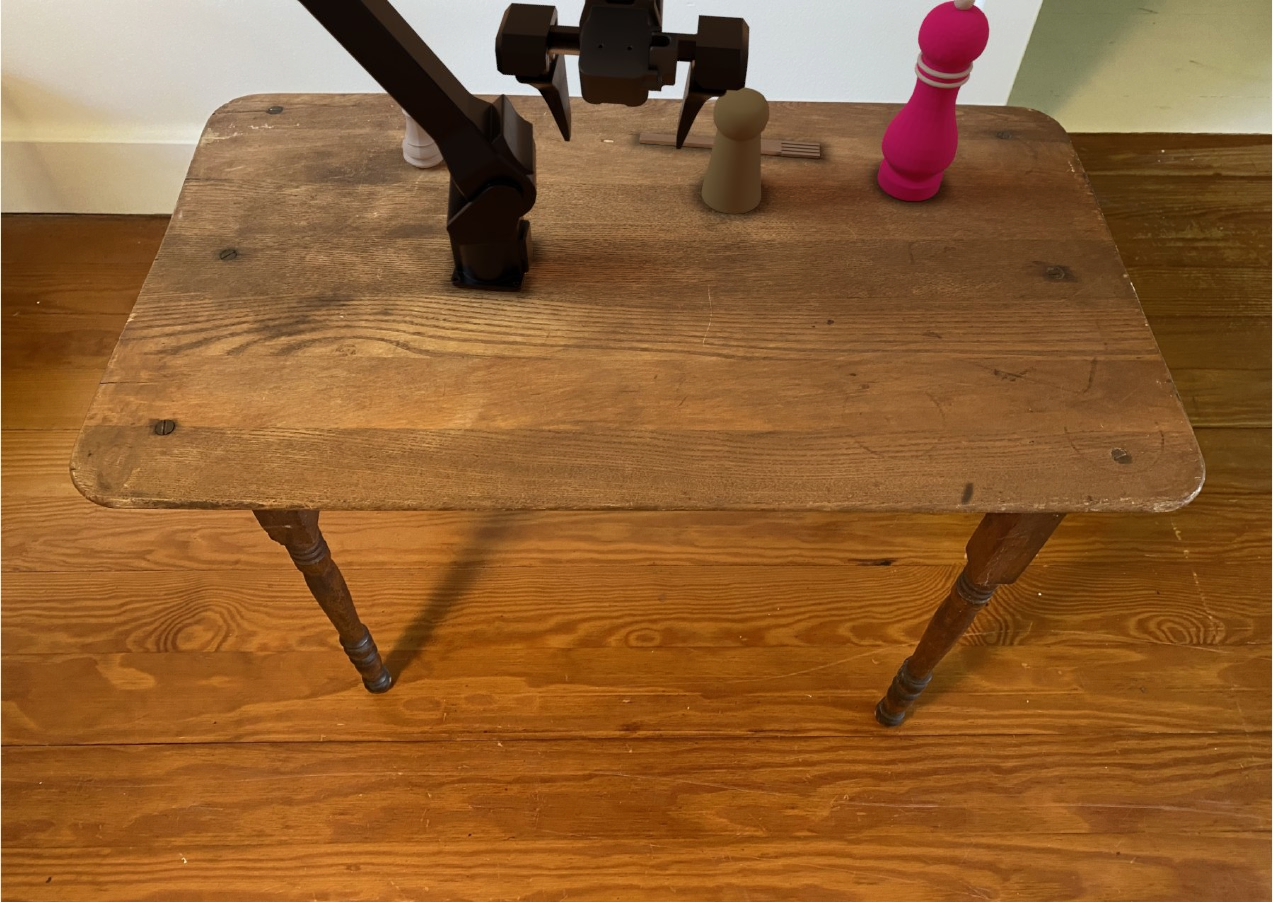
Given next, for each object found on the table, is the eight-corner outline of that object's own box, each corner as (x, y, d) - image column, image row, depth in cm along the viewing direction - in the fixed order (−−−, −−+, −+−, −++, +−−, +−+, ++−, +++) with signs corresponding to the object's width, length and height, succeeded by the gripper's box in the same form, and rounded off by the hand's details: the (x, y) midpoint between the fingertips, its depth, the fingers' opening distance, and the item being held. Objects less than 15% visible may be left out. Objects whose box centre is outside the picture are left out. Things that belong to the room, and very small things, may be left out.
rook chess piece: (444, 170, 94) (431, 100, 87) (400, 169, 94) (384, 99, 87) (450, 144, 96) (438, 73, 90) (407, 143, 96) (392, 72, 90)
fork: (639, 146, 97) (639, 142, 97) (641, 133, 98) (641, 129, 98) (819, 159, 96) (820, 155, 96) (818, 146, 98) (819, 142, 97)
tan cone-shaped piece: (757, 218, 91) (772, 120, 82) (696, 209, 91) (705, 111, 82) (764, 180, 94) (780, 82, 85) (706, 171, 95) (715, 73, 86)
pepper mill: (953, 176, 95) (1022, -17, 79) (927, 214, 91) (994, 20, 75) (889, 152, 97) (943, -41, 81) (861, 188, 94) (911, -6, 77)
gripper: (468, 0, 59) (494, 196, 72) (757, 19, 58) (732, 214, 71) (499, -80, 66) (517, 113, 78) (759, -64, 65) (736, 128, 78)
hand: (623, 142), depth 76 cm, fingers open, 9 cm apart
